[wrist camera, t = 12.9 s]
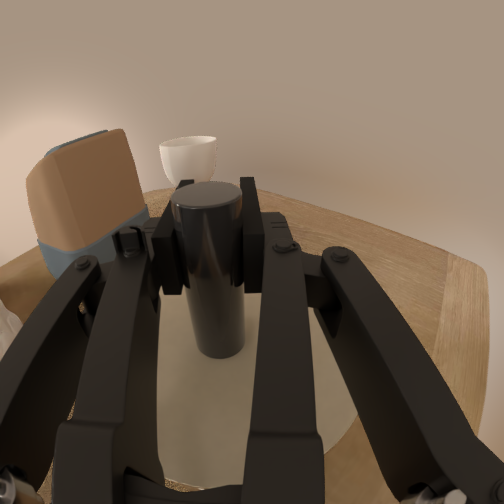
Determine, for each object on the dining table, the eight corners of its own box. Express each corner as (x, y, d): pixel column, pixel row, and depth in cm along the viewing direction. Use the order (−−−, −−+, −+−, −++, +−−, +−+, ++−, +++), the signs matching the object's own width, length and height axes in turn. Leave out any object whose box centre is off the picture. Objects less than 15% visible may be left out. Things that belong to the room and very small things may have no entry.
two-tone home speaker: (107, 239, 53) (84, 130, 41) (167, 255, 48) (148, 121, 36) (49, 284, 40) (8, 160, 28) (103, 315, 35) (52, 153, 23)
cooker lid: (62, 463, 8) (-75, 337, 3) (128, 271, 21) (102, 159, 16) (398, 463, 9) (536, 333, 4) (325, 265, 22) (341, 149, 17)
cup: (230, 211, 63) (228, 136, 54) (199, 233, 55) (191, 147, 45) (190, 203, 68) (184, 135, 59) (157, 222, 59) (147, 146, 50)
